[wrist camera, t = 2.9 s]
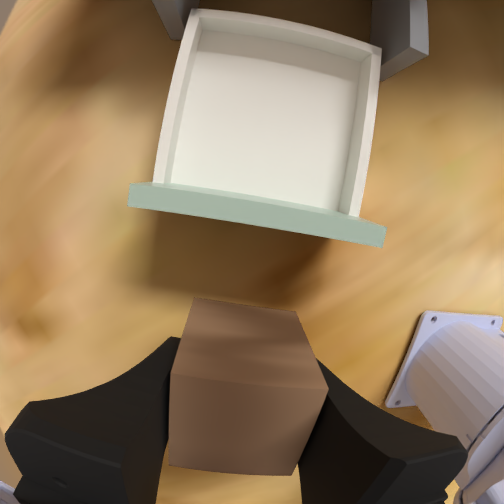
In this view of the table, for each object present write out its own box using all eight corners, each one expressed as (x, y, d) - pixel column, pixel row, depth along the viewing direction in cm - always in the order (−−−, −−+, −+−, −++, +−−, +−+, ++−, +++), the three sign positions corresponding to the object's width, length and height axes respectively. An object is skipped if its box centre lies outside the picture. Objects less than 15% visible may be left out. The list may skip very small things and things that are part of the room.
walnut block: (295, 311, 12) (328, 389, 7) (275, 389, 13) (291, 475, 8) (194, 297, 12) (170, 373, 7) (186, 379, 13) (168, 465, 8)
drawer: (364, 64, 14) (409, 29, 9) (339, 226, 16) (382, 248, 11) (195, 29, 13) (181, -22, 8) (161, 196, 15) (127, 206, 10)
